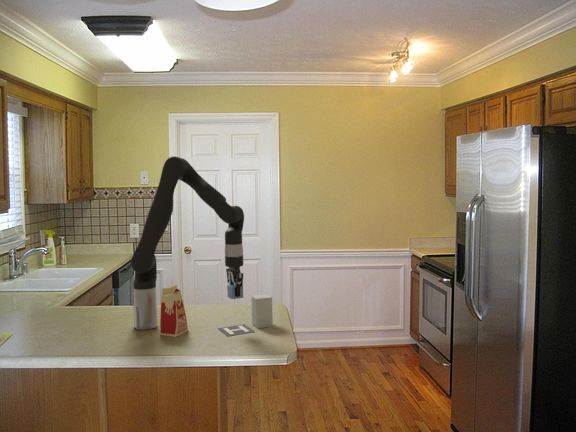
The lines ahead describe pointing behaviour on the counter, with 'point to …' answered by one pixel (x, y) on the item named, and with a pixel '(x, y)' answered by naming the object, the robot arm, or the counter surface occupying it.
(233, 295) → the slate blue cube
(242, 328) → the letter mat
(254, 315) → the supplement box
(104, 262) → the counter surface
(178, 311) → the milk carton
